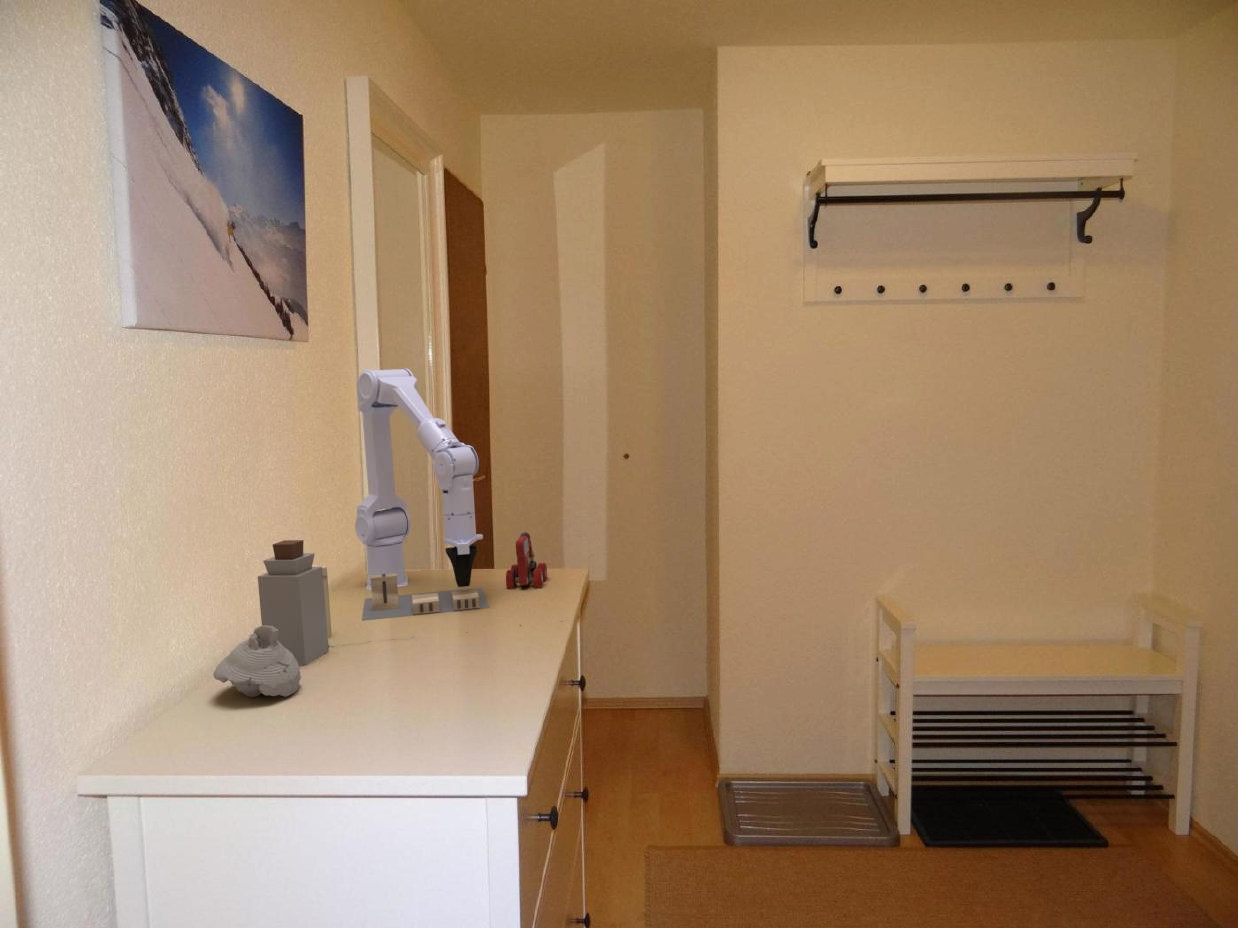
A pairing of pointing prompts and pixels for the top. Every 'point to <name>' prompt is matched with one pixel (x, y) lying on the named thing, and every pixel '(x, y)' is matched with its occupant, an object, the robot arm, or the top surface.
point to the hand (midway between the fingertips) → (463, 585)
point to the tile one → (384, 591)
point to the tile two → (425, 603)
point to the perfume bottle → (294, 601)
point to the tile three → (465, 599)
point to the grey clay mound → (261, 666)
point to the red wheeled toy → (525, 566)
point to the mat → (407, 605)
